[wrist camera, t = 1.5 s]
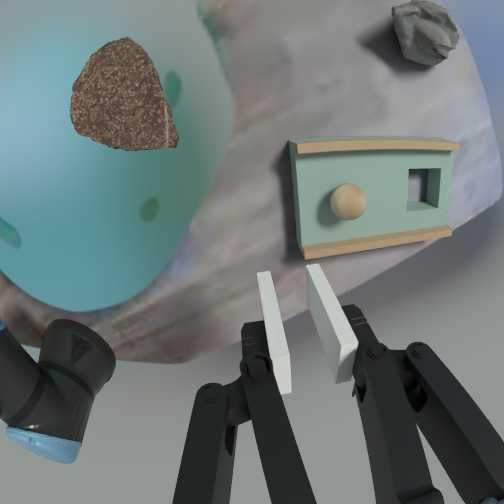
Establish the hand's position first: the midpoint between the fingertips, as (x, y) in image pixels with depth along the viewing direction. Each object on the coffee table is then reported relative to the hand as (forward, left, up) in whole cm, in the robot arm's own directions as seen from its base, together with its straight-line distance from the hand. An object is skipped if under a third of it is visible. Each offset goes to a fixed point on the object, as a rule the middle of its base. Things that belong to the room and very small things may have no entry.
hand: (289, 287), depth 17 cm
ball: (+9, 0, -13) cm, 16 cm away
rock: (-12, +14, -19) cm, 26 cm away
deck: (+15, 0, -18) cm, 24 cm away
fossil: (+22, +21, -19) cm, 36 cm away
